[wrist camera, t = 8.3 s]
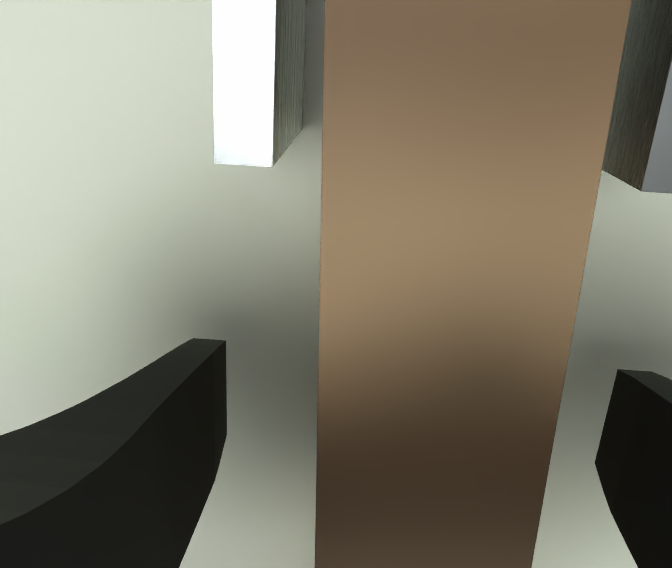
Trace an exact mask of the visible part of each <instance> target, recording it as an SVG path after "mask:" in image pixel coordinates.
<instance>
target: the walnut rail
mask: <svg viewBox="0 0 672 568" xmlns="http://www.w3.org/2000/svg"><path fill="white" fill-rule="evenodd" d="M630 6H631V0H325V18H324V75H323V132H322V189H321V247H320V304H319V361H318V418H317V476H316V533H315V568H531V566H532V560H533V555H534V549H535V543H536V538H537V532H538V526H539V521H540V515H541V509H542V504H543V498H544V492H545V487H546V481H547V475H548V470H549V464H550V458H551V453H552V447H553V442H554V436H555V430H556V425H557V419H558V413H559V408H560V402H561V396H562V391H563V385H564V379H565V374H566V368H567V362H568V357H569V351H570V345H571V340H572V334H573V328H574V323H575V317H576V311H577V306H578V300H579V294H580V289H581V283H582V278H583V272H584V266H585V261H586V255H587V249H588V244H589V238H590V232H591V227H592V221H593V215H594V210H595V204H596V198H597V193H598V187H599V181H600V176H601V170H602V164H603V159H604V153H605V147H606V142H607V136H608V130H609V125H610V119H611V114H612V108H613V102H614V97H615V91H616V85H617V80H618V74H619V68H620V63H621V57H622V51H623V46H624V40H625V34H626V29H627V23H628V17H629V12H630Z"/></svg>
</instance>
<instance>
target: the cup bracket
mask: <svg viewBox="0 0 672 568" xmlns="http://www.w3.org/2000/svg"><path fill="white" fill-rule="evenodd" d="M212 23H213V97H214V163H217V164H232V165H247V166H262V167H273V166H274V164H275V163H276V162H277V160H278V159H279V158H280V157H281V155H282V154H283V153H284V151H285V150H286V149H287V147H288V146H289V145H290V144H291V142H292V141H293V140H294V138H295V137H296V136H297V135H298V133H299V132H300V131H301V129H302V110H303V82H304V54H305V26H306V0H212ZM602 170H604V171H606V172H608V173H609V174H611V175H613V176H615V177H617V178H618V179H620V180H622V181H624V182H625V183H627V184H629V185H631V186H633V187H634V188H636V189H638V190H640V191H644V192H659V193H672V0H631V6H630V12H629V17H628V23H627V29H626V34H625V40H624V46H623V51H622V57H621V63H620V68H619V74H618V80H617V85H616V91H615V97H614V102H613V108H612V114H611V119H610V125H609V130H608V136H607V142H606V147H605V153H604V159H603V164H602Z"/></svg>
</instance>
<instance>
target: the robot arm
mask: <svg viewBox="0 0 672 568" xmlns="http://www.w3.org/2000/svg"><path fill="white" fill-rule="evenodd" d="M226 435H227V401H226V341H223V340H210V339H196V338H193V339H191V340H189V341H187V342H185V343H184V344H182V345H180V346H178V347H177V348H175V349H173V350H172V351H170V352H169V353H167V354H165V355H164V356H162V357H161V358H159V359H157V360H156V361H154V362H153V363H151V364H149V365H148V366H146V367H144V368H143V369H141V370H139V371H138V372H136V373H134V374H133V375H131V376H129V377H128V378H126V379H124V380H122V381H121V382H119V383H117V384H115V385H113V386H111V387H109V388H108V389H106V390H104V391H102V392H100V393H98V394H96V395H95V396H93V397H91V398H89V399H87V400H85V401H83V402H81V403H79V404H77V405H75V406H73V407H71V408H69V409H67V410H64V411H62V412H60V413H58V414H55V415H53V416H51V417H48V418H46V419H44V420H41V421H39V422H36V423H34V424H32V425H29V426H26V427H24V428H21V429H18V430H15V431H12V432H9V433H6V434H4V435H1V436H0V568H179V566H180V564H181V561H182V559H183V557H184V554H185V552H186V549H187V547H188V545H189V542H190V540H191V537H192V535H193V533H194V530H195V528H196V525H197V523H198V521H199V518H200V516H201V513H202V511H203V508H204V506H205V503H206V501H207V499H208V496H209V494H210V491H211V489H212V486H213V484H214V481H215V478H216V474H217V471H218V467H219V463H220V459H221V455H222V451H223V447H224V443H225V439H226ZM595 465H596V468H597V472H598V475H599V478H600V482H601V485H602V488H603V491H604V494H605V497H606V500H607V503H608V506H609V508H610V511H611V513H612V515H613V518H614V520H615V522H616V524H617V526H618V528H619V530H620V532H621V534H622V536H623V538H624V540H625V542H626V544H627V546H628V548H629V550H630V552H631V554H632V556H633V558H634V560H635V562H636V564H637V566H638V568H672V380H670V379H668V378H665V377H663V376H661V375H658V374H656V373H653V372H647V371H633V370H619V369H618V370H617V374H616V378H615V382H614V386H613V390H612V395H611V399H610V403H609V407H608V411H607V415H606V419H605V423H604V427H603V431H602V435H601V440H600V444H599V448H598V452H597V456H596V460H595Z"/></svg>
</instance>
